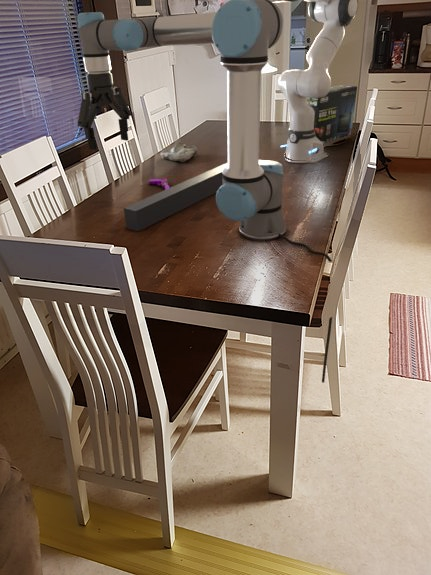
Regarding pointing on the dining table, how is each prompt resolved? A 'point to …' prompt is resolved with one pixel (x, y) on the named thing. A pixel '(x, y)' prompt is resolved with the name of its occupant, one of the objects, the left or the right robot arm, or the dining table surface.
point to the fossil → (179, 152)
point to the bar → (173, 199)
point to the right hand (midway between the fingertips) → (255, 54)
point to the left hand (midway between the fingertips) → (109, 144)
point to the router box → (334, 112)
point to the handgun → (160, 182)
